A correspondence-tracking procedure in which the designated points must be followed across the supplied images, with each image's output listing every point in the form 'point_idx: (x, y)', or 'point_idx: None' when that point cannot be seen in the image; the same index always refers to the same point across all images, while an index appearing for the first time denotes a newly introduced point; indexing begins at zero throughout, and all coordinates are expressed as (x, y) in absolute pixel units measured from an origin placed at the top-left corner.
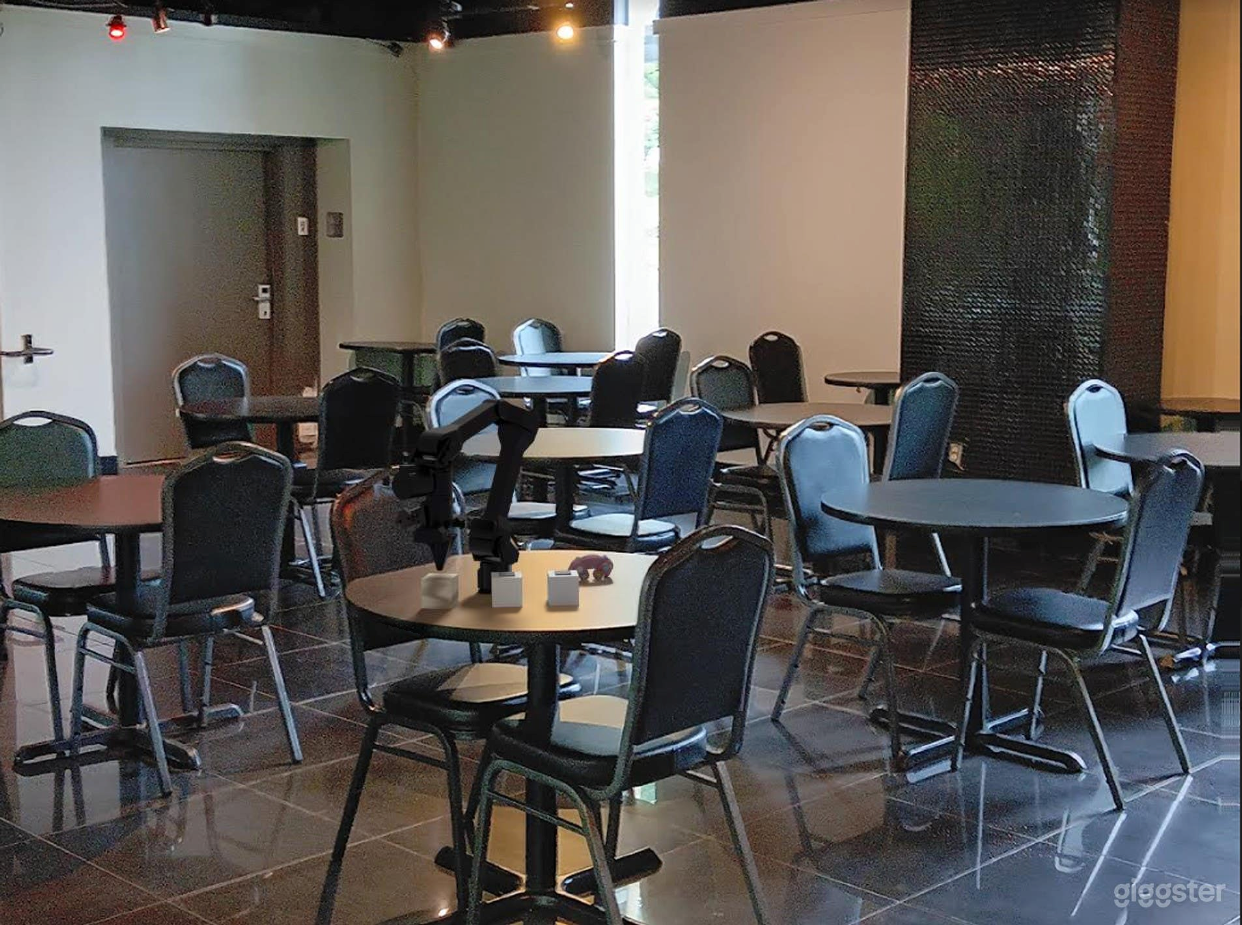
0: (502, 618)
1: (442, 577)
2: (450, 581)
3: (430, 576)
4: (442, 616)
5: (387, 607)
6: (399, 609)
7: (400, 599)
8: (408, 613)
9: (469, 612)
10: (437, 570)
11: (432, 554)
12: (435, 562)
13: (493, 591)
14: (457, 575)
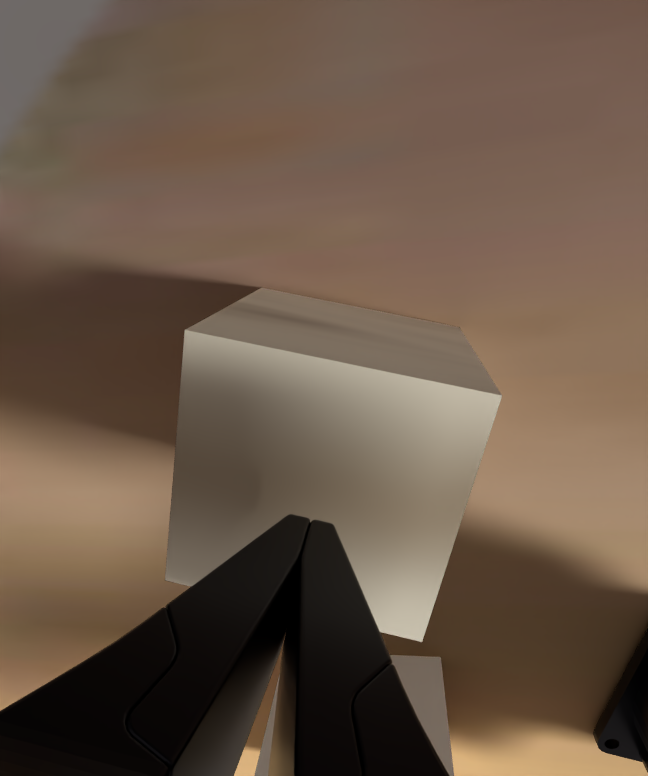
0: (62, 670)
1: (275, 521)
2: (172, 571)
3: (325, 414)
4: (61, 422)
5: (287, 8)
6: (222, 126)
7: (582, 78)
8: (109, 212)
9: (165, 549)
10: (290, 516)
11: (143, 623)
12: (234, 563)
13: (267, 734)
14: (398, 630)
